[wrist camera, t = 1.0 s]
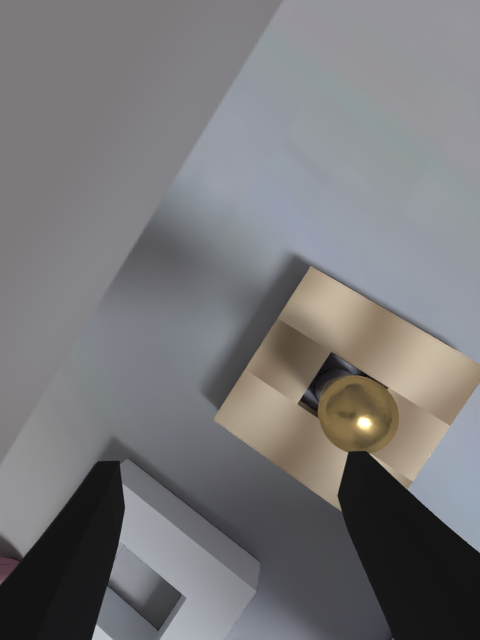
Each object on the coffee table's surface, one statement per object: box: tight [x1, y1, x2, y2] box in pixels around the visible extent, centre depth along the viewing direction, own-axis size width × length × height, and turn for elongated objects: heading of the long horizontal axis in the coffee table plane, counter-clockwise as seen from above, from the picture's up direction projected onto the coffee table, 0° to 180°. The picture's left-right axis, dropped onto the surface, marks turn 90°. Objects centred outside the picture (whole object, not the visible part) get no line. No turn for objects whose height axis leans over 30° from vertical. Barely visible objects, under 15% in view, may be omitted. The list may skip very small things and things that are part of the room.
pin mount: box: [213, 266, 480, 512], centre depth 21 cm, size 12×12×2 cm
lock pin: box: [315, 369, 399, 454], centre depth 18 cm, size 4×4×7 cm
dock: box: [92, 459, 261, 640], centre depth 22 cm, size 12×12×2 cm
